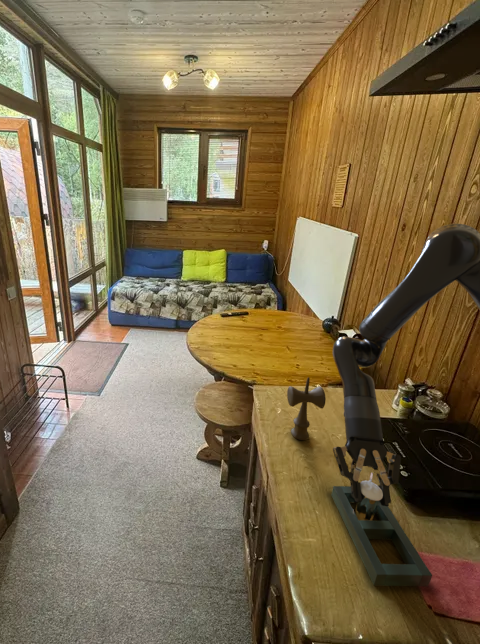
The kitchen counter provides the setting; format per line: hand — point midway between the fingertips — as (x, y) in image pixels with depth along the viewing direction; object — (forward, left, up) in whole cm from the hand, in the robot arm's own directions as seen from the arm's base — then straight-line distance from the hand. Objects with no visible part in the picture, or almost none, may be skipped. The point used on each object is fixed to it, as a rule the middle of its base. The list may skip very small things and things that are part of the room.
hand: (371, 503), depth 65 cm
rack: (0, +2, -6) cm, 7 cm away
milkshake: (0, -2, -6) cm, 7 cm away
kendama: (+6, -27, -6) cm, 28 cm away
